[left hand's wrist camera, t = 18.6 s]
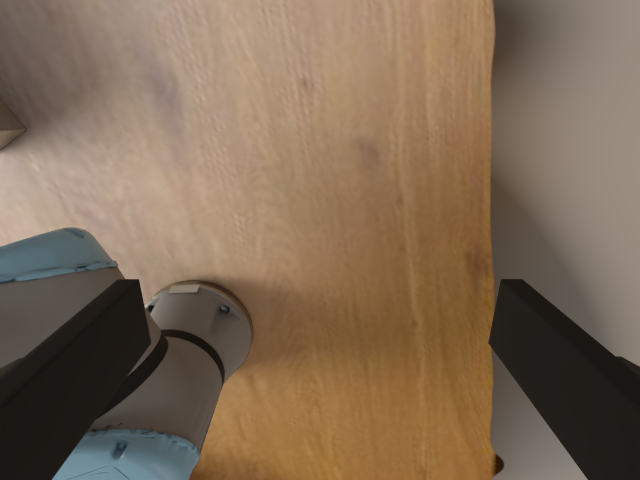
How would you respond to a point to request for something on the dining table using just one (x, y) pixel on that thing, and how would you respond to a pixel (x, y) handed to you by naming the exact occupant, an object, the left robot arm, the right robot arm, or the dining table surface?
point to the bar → (8, 126)
